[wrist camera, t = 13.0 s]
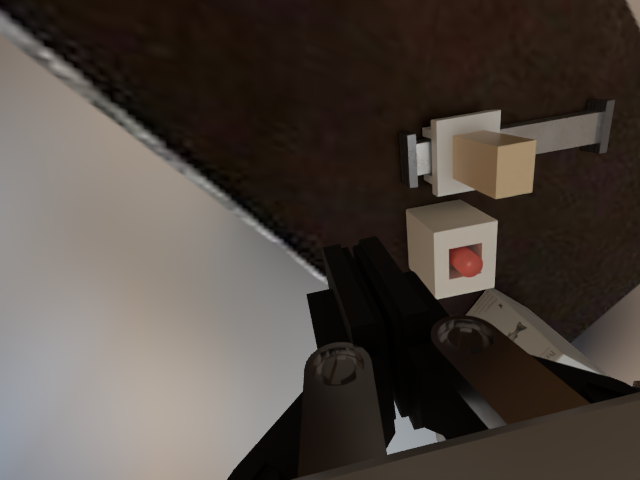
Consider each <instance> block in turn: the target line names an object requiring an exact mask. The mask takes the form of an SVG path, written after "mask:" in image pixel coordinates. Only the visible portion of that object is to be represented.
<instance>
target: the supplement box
mask: <svg viewBox="0 0 640 480" xmlns="http://www.w3.org/2000/svg"><path fill="white" fill-rule="evenodd" d="M466 315H469V316H475V317H478V318H481V319H484V320H486V321H487V322H489V323H491V324H492V325H494V326H495V327H496V328H497V329H499V330H500V331H501V332H502V333H504V334H505V335H506V336H507V337H509V338H510V339H511V340H512V341H514V342H515V343H516V344H517V345H519V346H520V347H521V348H522V349H524V350H525V351H526V352H527V353H528V354H530V355H534V356H537V357H541V358H544V359H548V360H551V361H555V362H558V363H562V364H566V365H569V366H573V367H576V368H580V369H583V370H587V371H590V372H594V373H597V374H601V375H605V376H608V375H607V374H606V373H604V372H603V371H602V370H601V369H600V368H598V367H597V366H596V365H595V364H594V363H592V362H591V361H590V360H589V359H588V358H586V357H585V356H584V355H583V354H582V353H581V352H579V351H578V350H577V349H576V348H574V347H573V346H572V345H571V344H570V343H569V342H567V341H566V340H565V339H564V338H563V337H562V336H560V335H559V334H558V333H557V332H556V331H554V330H553V329H552V328H551V327H550V326H548V325H547V324H546V323H545V322H544V321H542V320H541V319H540V318H539V317H538V316H537V315H535V314H534V313H533V312H532V311H531V310H529V309H528V308H527V307H525V306H523V305H521V304H520V303H518V302H516V301H515V300H513V299H511V298H509V297H508V296H506V295H504V294H503V293H501V292H499V291H498V290H496V289H494V288H489V289H486V290H485V291H484V293H483V294H482V295H481V297H480V298H479V299H478V301H477V302H476V303H475V304H474V305H473V307H472V308H471V309H470V310H469V311H468V313H467V314H466ZM608 377H609V376H608Z"/></svg>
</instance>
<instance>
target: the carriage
mask: <svg viewBox="0 0 640 480" xmlns="http://www.w3.org/2000/svg"><path fill="white" fill-rule="evenodd" d="M500 117H501V110H494V109H493V110H487V111H481V112H475V113H469V114H463V115H457V116H452V117H446V118H440V119H434V120H431V126H430V127H425V128H422V136H423V137H427V138H430V139H431V144H432V173H428V174H424V180H425V181H427V182H429V183H430V184H432V185H433V194H434V195H436V196H437V197H440V196H445V195H450V194H456V193H461V192H467V191H472V190H477V191H479V192H482V193H484V194H486V195H488V196H490V197H492V198H494V199H499V198H504V197H510V196H515V195H520V194H526V193H531V192H532V188H533V176H534V164H535V153H536V141H537V140H534V139H529V138H524V137H518V136H513V135H508V134H502V133H500Z"/></svg>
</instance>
